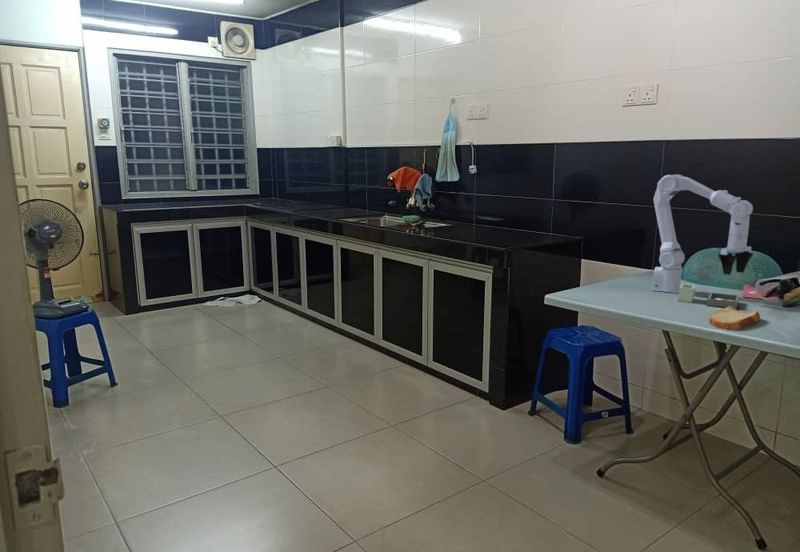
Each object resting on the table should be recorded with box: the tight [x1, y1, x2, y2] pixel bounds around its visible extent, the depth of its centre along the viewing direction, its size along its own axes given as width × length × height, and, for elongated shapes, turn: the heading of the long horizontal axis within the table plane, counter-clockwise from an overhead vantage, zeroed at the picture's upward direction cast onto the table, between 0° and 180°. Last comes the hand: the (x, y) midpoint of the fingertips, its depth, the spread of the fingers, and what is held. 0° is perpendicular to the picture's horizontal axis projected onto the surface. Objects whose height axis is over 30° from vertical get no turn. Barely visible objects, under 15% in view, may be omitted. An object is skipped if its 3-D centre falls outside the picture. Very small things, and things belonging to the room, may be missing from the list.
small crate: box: [677, 283, 696, 304], centre depth 200 cm, size 4×7×5 cm, turn 146°
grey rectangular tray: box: [706, 292, 740, 310], centre depth 194 cm, size 9×11×2 cm
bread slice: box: [708, 307, 761, 331], centre depth 172 cm, size 18×18×4 cm
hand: (733, 273), depth 198 cm, fingers open, 7 cm apart
